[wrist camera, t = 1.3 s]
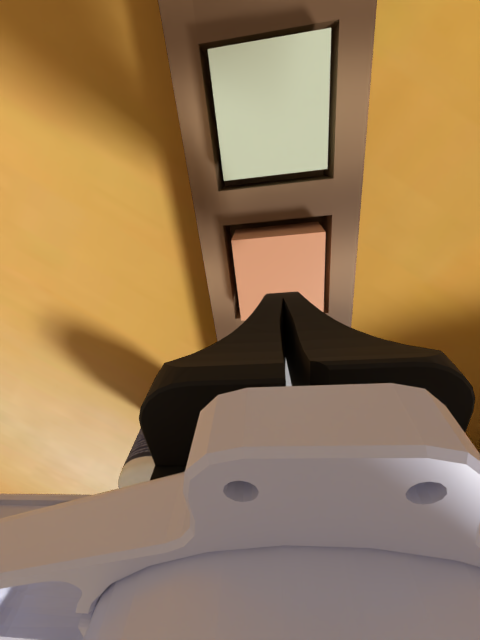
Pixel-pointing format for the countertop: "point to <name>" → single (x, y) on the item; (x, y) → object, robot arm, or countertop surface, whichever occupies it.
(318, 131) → the key sage
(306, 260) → the salmon orange square block
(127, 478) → the pill bottle
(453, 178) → the countertop surface
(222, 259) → the board
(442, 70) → the countertop surface
